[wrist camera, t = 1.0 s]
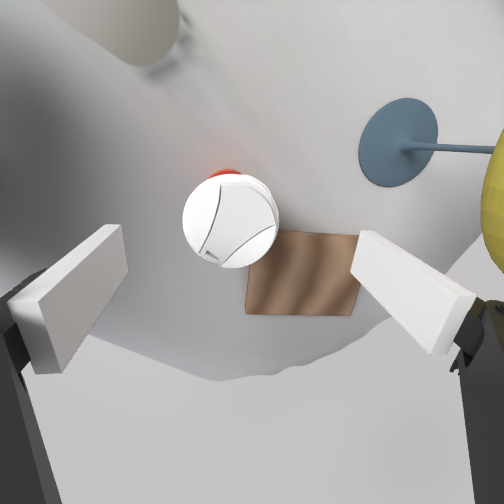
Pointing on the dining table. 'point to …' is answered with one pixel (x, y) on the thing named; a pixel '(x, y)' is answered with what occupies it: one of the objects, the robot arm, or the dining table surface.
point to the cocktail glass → (418, 155)
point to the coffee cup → (231, 219)
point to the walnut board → (304, 276)
